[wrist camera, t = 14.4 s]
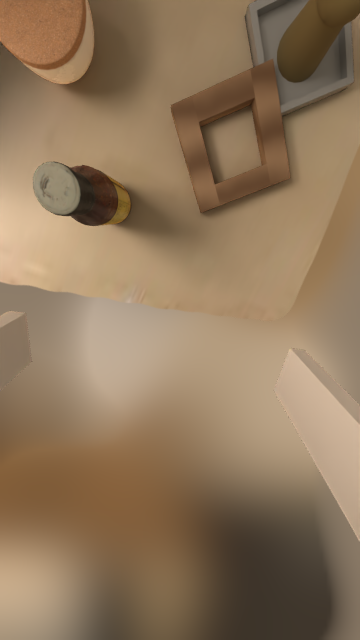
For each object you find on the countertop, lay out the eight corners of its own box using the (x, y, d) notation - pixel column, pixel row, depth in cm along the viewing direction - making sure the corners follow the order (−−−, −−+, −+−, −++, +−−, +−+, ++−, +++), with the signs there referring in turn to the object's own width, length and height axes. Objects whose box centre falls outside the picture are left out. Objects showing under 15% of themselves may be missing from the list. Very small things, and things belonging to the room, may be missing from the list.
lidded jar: (119, 80, 31) (96, 24, 23) (52, 113, 33) (6, 73, 24) (80, -30, 27) (35, -148, 19) (6, 13, 29) (-69, -79, 20)
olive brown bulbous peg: (302, 5, 28) (372, -119, 18) (333, 47, 30) (413, -46, 20) (267, 57, 30) (312, -29, 20) (297, 94, 31) (353, 32, 21)
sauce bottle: (86, 195, 37) (-6, 165, 18) (117, 173, 36) (52, 116, 17) (111, 233, 39) (50, 239, 21) (141, 212, 38) (105, 200, 19)
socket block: (171, 112, 33) (170, 105, 31) (267, 68, 31) (273, 58, 29) (200, 213, 38) (201, 212, 36) (284, 180, 36) (290, 177, 34)
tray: (244, 17, 29) (248, 4, 27) (338, -29, 28) (348, -46, 26) (263, 124, 33) (267, 118, 32) (344, 89, 32) (354, 81, 30)
